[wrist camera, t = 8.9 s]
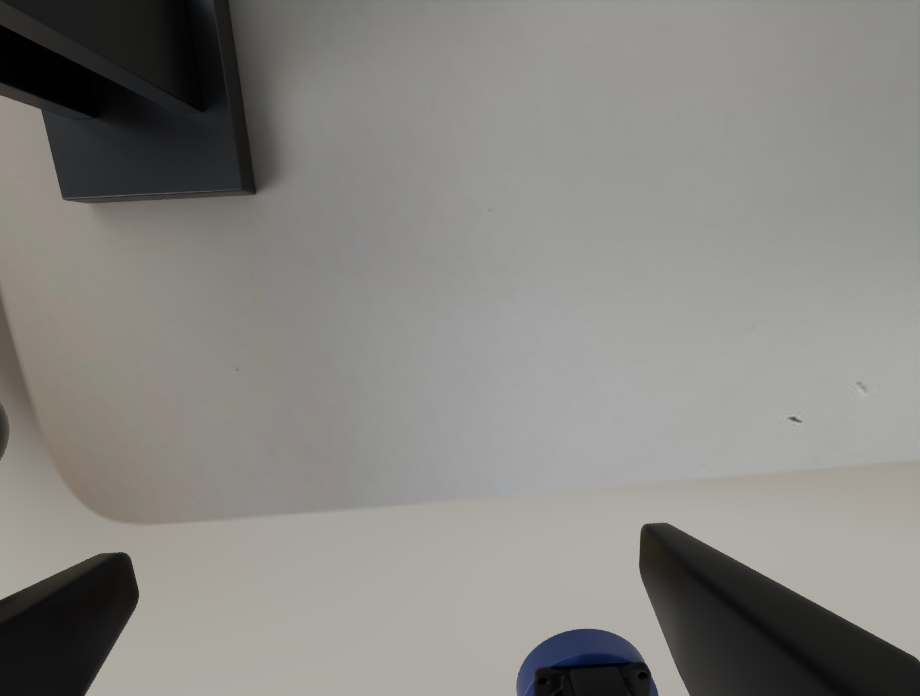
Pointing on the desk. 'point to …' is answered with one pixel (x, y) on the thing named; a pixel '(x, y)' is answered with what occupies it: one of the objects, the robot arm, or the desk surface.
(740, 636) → the robot arm
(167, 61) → the bracket
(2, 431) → the lever
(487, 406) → the desk surface
